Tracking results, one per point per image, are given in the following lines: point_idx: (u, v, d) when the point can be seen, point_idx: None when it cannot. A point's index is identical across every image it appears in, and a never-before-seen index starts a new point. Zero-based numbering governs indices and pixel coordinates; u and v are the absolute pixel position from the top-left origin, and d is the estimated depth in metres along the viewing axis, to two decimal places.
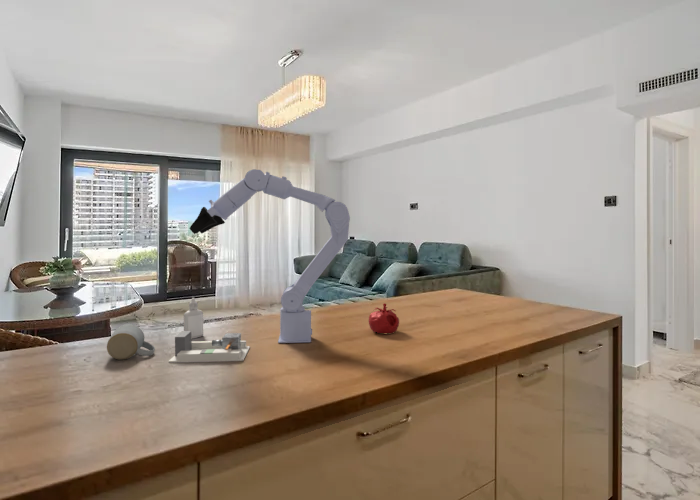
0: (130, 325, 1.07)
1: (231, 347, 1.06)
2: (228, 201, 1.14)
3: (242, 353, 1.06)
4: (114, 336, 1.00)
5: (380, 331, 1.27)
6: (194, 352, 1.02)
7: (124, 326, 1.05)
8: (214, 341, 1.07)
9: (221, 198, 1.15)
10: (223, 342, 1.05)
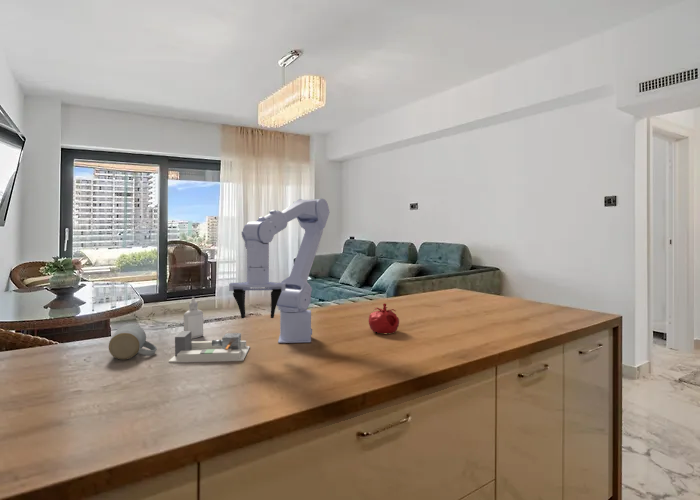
0: (132, 325, 1.07)
1: (231, 347, 1.06)
2: (268, 269, 1.08)
3: (242, 353, 1.06)
4: (116, 336, 1.00)
5: (380, 331, 1.27)
6: (194, 352, 1.02)
7: (126, 326, 1.06)
8: (214, 341, 1.07)
9: (264, 273, 1.06)
10: (223, 342, 1.05)
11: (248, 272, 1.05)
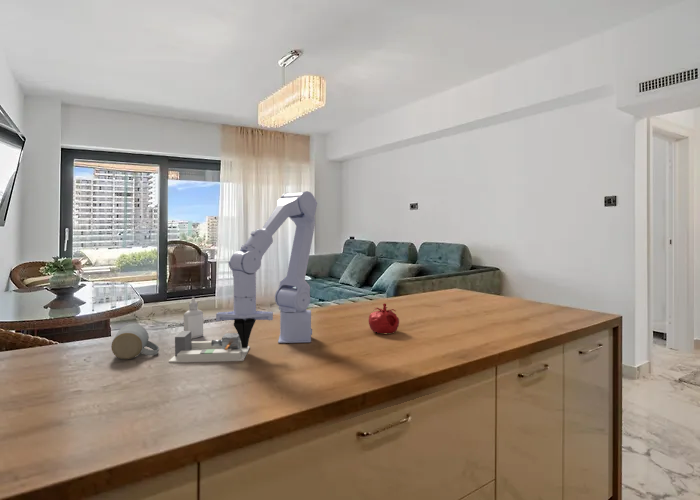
0: (134, 325, 1.07)
1: (231, 347, 1.06)
2: (255, 298, 1.08)
3: (242, 353, 1.06)
4: (119, 336, 1.00)
5: (380, 331, 1.27)
6: (194, 352, 1.02)
7: (128, 326, 1.06)
8: (214, 341, 1.07)
9: (251, 303, 1.06)
10: (223, 342, 1.05)
11: (235, 302, 1.05)
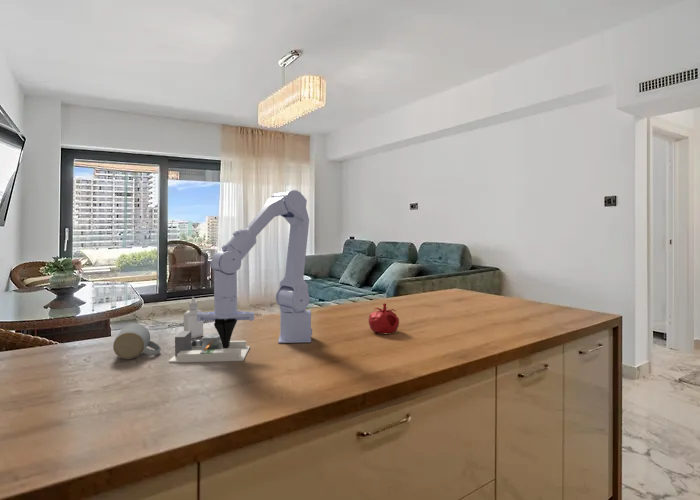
0: (136, 325, 1.07)
1: (211, 347, 1.05)
2: (236, 298, 1.07)
3: (242, 353, 1.06)
4: (120, 336, 1.01)
5: (380, 331, 1.27)
6: (194, 352, 1.02)
7: (130, 326, 1.06)
8: (194, 341, 1.06)
9: (231, 304, 1.05)
10: (203, 342, 1.05)
11: (215, 302, 1.05)
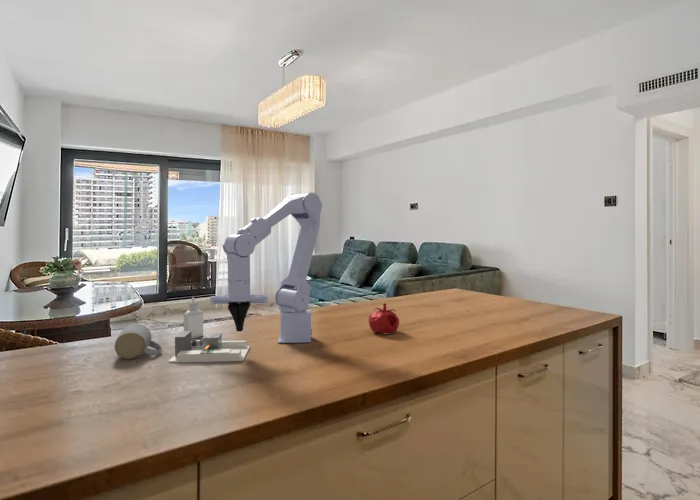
0: (137, 325, 1.07)
1: (211, 347, 1.05)
2: None
3: (242, 353, 1.06)
4: (122, 336, 1.01)
5: (380, 331, 1.27)
6: (194, 352, 1.02)
7: (131, 326, 1.06)
8: (194, 341, 1.06)
9: (245, 286, 1.05)
10: (203, 342, 1.05)
11: (229, 285, 1.05)
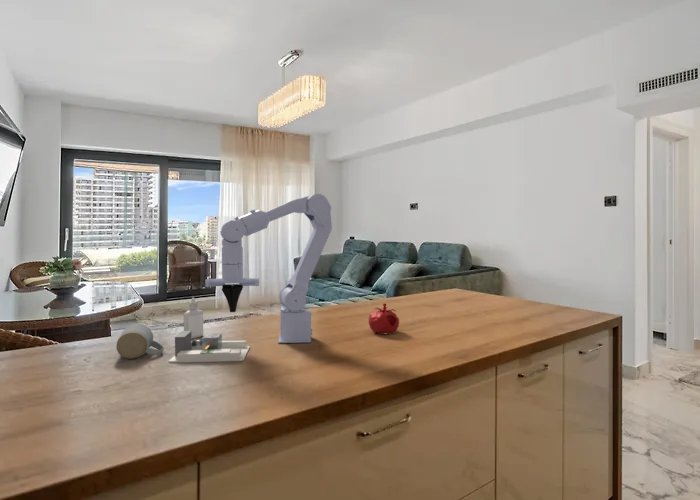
0: (139, 324, 1.07)
1: (211, 347, 1.05)
2: (242, 265, 1.15)
3: (242, 353, 1.06)
4: (124, 335, 1.01)
5: (380, 331, 1.27)
6: (194, 352, 1.02)
7: (133, 325, 1.06)
8: (194, 341, 1.06)
9: (238, 270, 1.12)
10: (203, 342, 1.05)
11: (223, 269, 1.12)
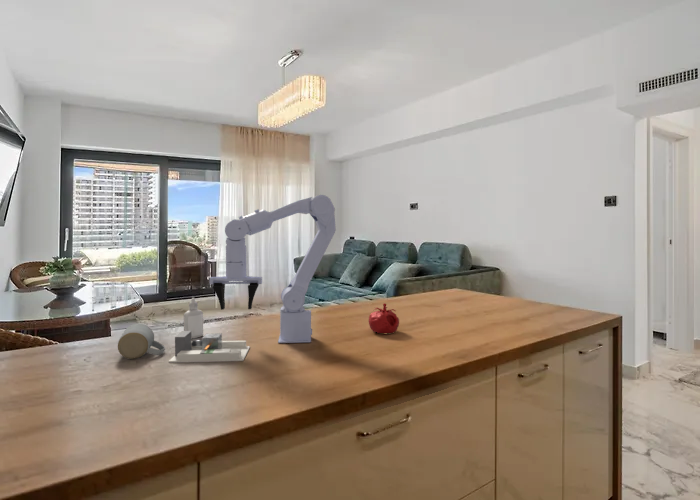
0: (140, 324, 1.07)
1: (211, 347, 1.05)
2: None
3: (242, 353, 1.06)
4: (125, 335, 1.01)
5: (380, 331, 1.27)
6: (194, 352, 1.02)
7: (134, 325, 1.06)
8: (194, 341, 1.06)
9: (242, 268, 1.15)
10: (203, 342, 1.05)
11: (227, 267, 1.14)
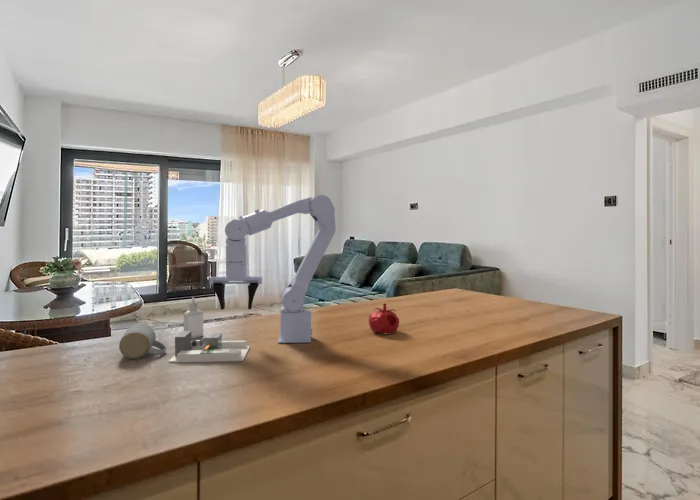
0: (142, 324, 1.07)
1: (211, 347, 1.05)
2: None
3: (242, 353, 1.06)
4: (126, 335, 1.01)
5: (380, 331, 1.27)
6: (194, 352, 1.02)
7: (136, 325, 1.06)
8: (194, 341, 1.06)
9: (242, 268, 1.15)
10: (203, 342, 1.05)
11: (227, 267, 1.14)
